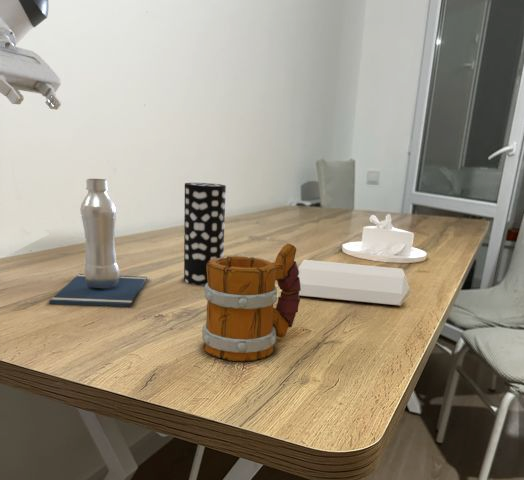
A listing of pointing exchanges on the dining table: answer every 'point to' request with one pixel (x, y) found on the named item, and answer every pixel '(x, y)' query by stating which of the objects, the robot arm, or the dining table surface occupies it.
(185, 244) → the white-spotted black cylinder
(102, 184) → the silver metal bottle
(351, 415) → the dining table surface
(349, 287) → the white hexagonal prism
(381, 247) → the dish
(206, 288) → the mug
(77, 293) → the towel
